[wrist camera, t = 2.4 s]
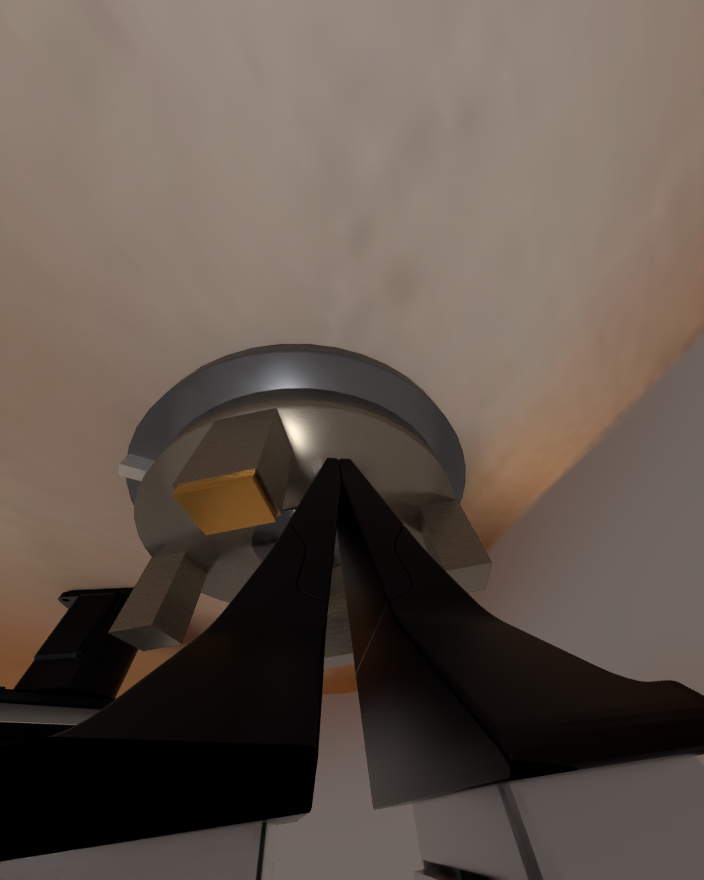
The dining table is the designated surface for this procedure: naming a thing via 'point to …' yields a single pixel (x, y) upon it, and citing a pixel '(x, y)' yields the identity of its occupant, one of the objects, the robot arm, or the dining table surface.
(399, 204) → the dining table surface
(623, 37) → the dining table surface
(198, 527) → the round fixture plate
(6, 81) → the dining table surface
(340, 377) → the base plate
